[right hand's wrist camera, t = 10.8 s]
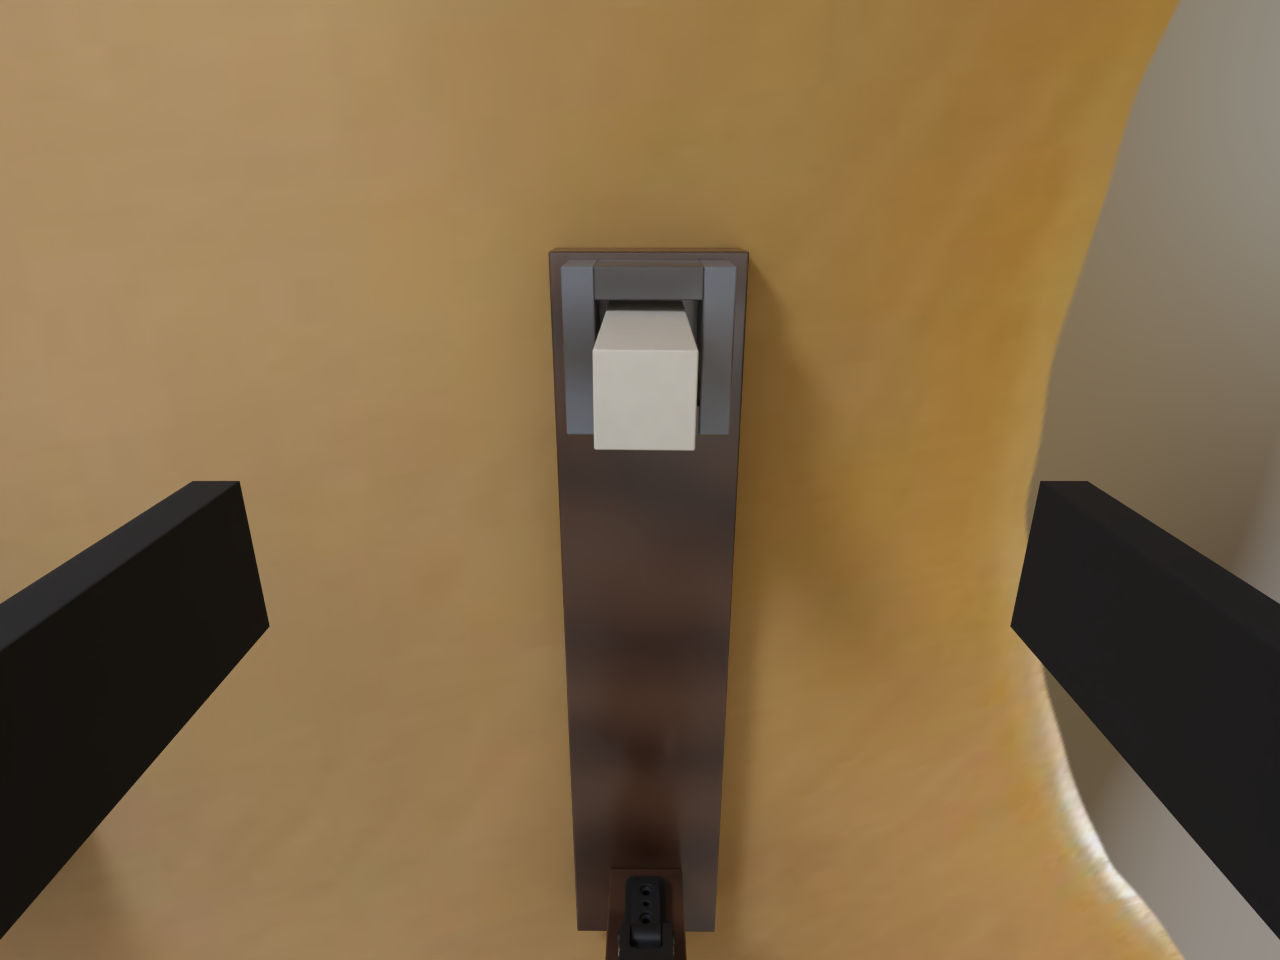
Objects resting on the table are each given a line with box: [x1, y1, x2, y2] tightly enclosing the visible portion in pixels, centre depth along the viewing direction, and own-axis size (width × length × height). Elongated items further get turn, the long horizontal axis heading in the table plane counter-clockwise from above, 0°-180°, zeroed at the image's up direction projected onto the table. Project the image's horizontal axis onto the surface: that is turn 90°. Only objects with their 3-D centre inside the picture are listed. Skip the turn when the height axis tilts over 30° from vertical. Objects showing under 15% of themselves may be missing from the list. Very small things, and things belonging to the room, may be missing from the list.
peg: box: [593, 301, 699, 451], centre depth 26 cm, size 3×3×10 cm
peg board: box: [549, 248, 749, 960], centre depth 35 cm, size 38×8×8 cm, turn 0°
